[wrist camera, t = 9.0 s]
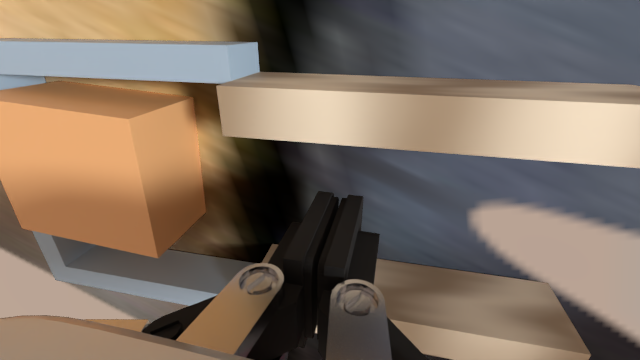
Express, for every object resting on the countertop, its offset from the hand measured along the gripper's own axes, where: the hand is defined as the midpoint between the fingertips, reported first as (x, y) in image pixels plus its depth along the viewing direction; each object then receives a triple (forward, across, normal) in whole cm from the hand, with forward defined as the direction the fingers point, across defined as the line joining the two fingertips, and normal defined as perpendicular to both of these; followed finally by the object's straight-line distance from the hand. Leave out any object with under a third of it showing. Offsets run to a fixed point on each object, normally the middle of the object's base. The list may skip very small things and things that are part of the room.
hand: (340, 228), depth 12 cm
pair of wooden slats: (+3, -2, 0) cm, 4 cm away
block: (+3, +11, -1) cm, 11 cm away
